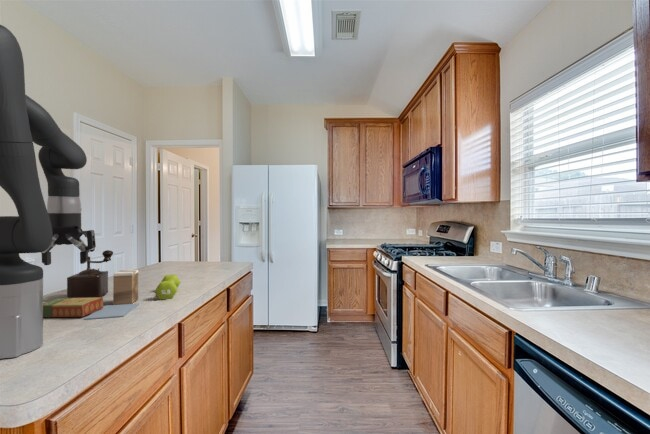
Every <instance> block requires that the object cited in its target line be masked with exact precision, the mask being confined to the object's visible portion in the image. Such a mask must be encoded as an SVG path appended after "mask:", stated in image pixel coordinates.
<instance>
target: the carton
mask: <svg viewBox="0 0 650 434" xmlns="http://www.w3.org/2000/svg"><path fill="white" fill-rule="evenodd" d="M103 298H104V296H103V297H90V298H67V297H58V298H55V299H52V300H49V301H46V302H43V318H70V317H71V318H72V317H73V318H74V317H75V318H80V317H83V318H84V317H86V316H89V315H90V314H92V313H94V312H95V311H98V310H100V309H102V308H103V306H104V299H103Z"/></svg>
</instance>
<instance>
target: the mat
mask: <svg viewBox="0 0 650 434" xmlns="http://www.w3.org/2000/svg"><path fill="white" fill-rule="evenodd" d="M138 306H139V303H134V304H123V305H112V304H110V305H103V308H102V309H100V310H98V311H95V312H93V313H90V314H88V315H86V316H85V317H83V320H85V321H86V320H87V321H88V320H97V319H98V320H99V319H111V318H113V319H114V318H123V317H125V316H127V315H128V314H129V313H130V312H131V311H133V310H134V309H136V307H138Z"/></svg>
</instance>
